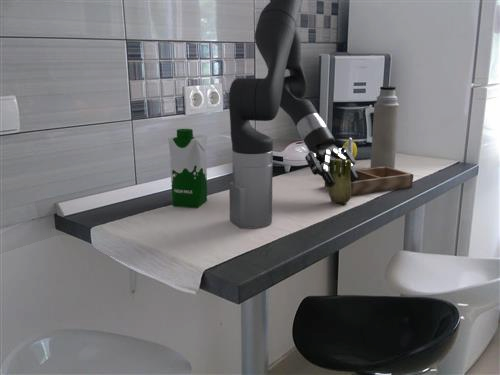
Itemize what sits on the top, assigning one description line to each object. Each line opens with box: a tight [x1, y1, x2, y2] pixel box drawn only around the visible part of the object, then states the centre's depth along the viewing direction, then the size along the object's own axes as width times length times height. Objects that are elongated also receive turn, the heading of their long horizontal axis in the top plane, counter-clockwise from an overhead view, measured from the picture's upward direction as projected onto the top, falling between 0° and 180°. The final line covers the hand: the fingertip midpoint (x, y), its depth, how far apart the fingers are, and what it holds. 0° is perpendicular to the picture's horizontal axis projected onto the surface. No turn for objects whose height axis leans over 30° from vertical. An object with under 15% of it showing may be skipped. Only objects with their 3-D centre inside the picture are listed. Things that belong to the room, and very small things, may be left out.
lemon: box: [342, 140, 358, 159], centre depth 182 cm, size 6×6×8 cm
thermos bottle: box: [369, 85, 400, 169], centre depth 166 cm, size 8×8×28 cm
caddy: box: [324, 166, 414, 198], centre depth 147 cm, size 23×12×4 cm, turn 116°
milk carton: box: [168, 128, 208, 209], centre depth 130 cm, size 9×9×20 cm
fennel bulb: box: [327, 159, 352, 205], centre depth 131 cm, size 6×5×12 cm
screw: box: [347, 137, 353, 160], centre depth 158 cm, size 13×5×5 cm
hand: (344, 182), depth 130 cm, fingers open, 8 cm apart
